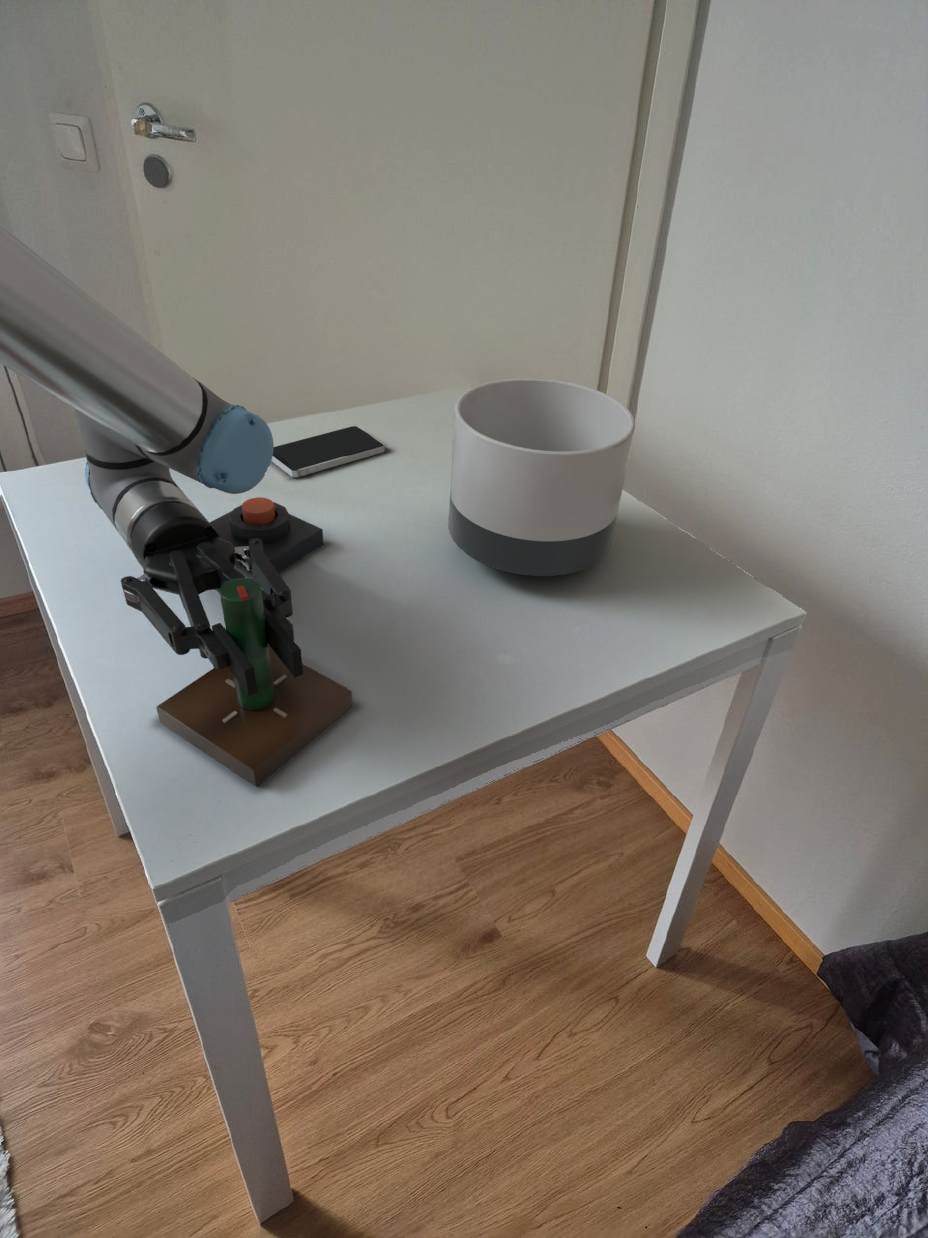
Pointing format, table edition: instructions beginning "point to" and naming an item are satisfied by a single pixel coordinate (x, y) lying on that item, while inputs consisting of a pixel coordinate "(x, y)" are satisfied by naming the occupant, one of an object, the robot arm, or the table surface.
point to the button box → (272, 535)
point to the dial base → (255, 718)
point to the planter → (537, 474)
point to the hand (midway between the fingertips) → (274, 672)
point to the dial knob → (249, 637)
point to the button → (258, 511)
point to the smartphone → (325, 451)
